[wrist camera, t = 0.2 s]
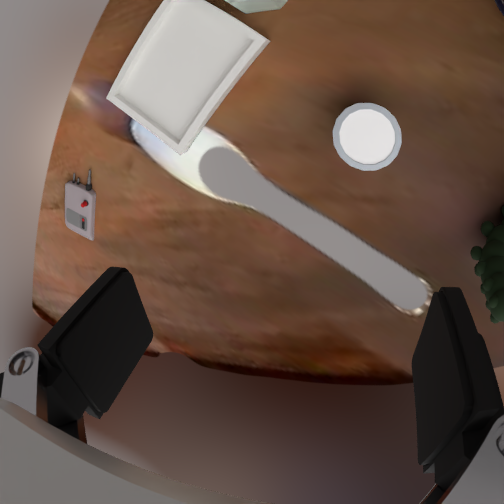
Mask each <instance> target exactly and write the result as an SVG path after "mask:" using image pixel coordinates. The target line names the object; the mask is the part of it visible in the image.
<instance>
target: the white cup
mask: <svg viewBox="0 0 504 504" xmlns="http://www.w3.org/2000/svg"><path fill="white" fill-rule="evenodd" d="M333 140H334V146H335V148H336V150H337V152H338V154H339V156H340V157H341V158H342V159H343V160H344V161H345V162H347V163H348V164H349V165H350V166H352V167H355V168H357V169H360V170H363V171H366V170H378V169H380V168H383V167H385V166H387V165H389V164H390V163H391V162H392V161H393V160H394V159H395V157H396V156H397V155H398V152H399V149H400V147H401V144H402V142H401V129H400V127H399V125H398V123H397V120H396V118H395V117H394V116H393V115H392V114H391V113H390V112H389V111H388V110H387V109H385V108H384V107H381V106H379V105H376V104H373V103H357V104H354V105H352V106H350V107H348V108H346V109H345V110H344V111H343V112H342V113H341V114H340V116H339V117H338V118H337V119H336V122H335V126H334V129H333Z"/></svg>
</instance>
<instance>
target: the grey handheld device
mask: <svg viewBox="0 0 504 504" xmlns="http://www.w3.org/2000/svg"><path fill="white" fill-rule="evenodd" d="M90 175H91V170H89V176H88V183H87V184H86V186H85V185H83V184H81V183H80V182H79V178H78V181H77V182H75V173H74V176H73V181H69V182H67V183H66V184H65V223H66V225H67V227H68V228H69V229H71V230H73V231H75V232H77V233H78V234H80V235H82V236H84V237H86V238H88V239H90V240H94V222H95V204H96V193H95V191H93V190H92V185H91V183H90V182H91V176H90Z"/></svg>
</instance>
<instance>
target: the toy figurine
mask: <svg viewBox="0 0 504 504" xmlns="http://www.w3.org/2000/svg"><path fill="white" fill-rule="evenodd" d="M501 211H502V214H503V217H504V206H503V207H502V210H501ZM481 232H482V234H483V235H484V236H486V237H487V241H486V245H485V246H484V247H483V249H482V248H481V247H479V246H475V247H473V248H472V250H471V252H470V253H471V257H472V258H473V259H474V260H479V262H478V264H476V266H475V267H474V268H475V274H476V275H477V276H479V277H480V276H481V280H482V284H481V292H482V293H483V294H485V296H486V299H487V301H486V307H487V308H488V309H489V310H490V311H491V315H490V319H491V322H493V323H498V322H499V321H504V219H503V221H502V222H501V225H498V226H496V227H494V225H493V223H491V222H490V221H485V222H484V223H483V224H482V226H481Z"/></svg>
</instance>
